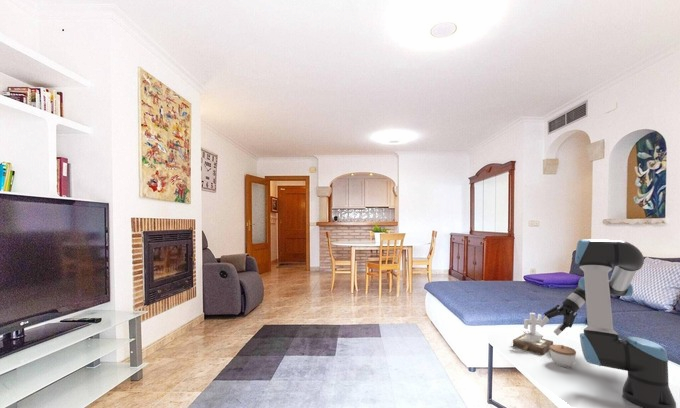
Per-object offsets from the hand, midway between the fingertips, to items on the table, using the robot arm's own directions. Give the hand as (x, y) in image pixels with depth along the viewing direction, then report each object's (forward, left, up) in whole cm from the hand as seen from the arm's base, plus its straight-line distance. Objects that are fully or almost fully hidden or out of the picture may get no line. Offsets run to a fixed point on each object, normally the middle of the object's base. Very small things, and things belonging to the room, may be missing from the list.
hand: (547, 329), depth 180 cm
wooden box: (-8, +5, -10) cm, 14 cm away
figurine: (-6, +5, -6) cm, 10 cm away
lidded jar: (-19, -13, -10) cm, 25 cm away
